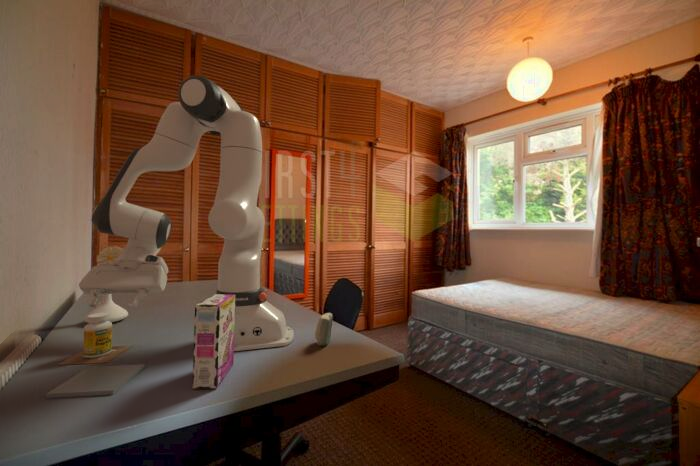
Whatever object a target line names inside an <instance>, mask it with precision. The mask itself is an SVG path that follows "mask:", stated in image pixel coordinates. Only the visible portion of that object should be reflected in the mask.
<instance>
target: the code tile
mask: <svg viewBox="0 0 700 466" xmlns="http://www.w3.org/2000/svg"><path fill="white" fill-rule="evenodd" d="M130 348H133V345H117V346H116V345H112V351H111V352H110V353H109V354H107V355H105V356H101V357H97V358H86V357H84V350H82V351H80V352H79V353H76V354H75V355H73V356H71V357H69V358H67V359H65V360H63V361H62V362H59V363H58V366H65V365H87V364H89V365H91V364H93V365H95V364H108V363H109V362H111V361H113V360H114V359H116V358H117V357H119V356H120V355H122V354H123V353H125V352H126V351H127V350H128V351H129V350H130Z"/></svg>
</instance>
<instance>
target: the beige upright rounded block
mask: <svg viewBox="0 0 700 466" xmlns="http://www.w3.org/2000/svg"><path fill="white" fill-rule="evenodd" d="M333 317H334V316H333V313H331V312H326V313H324V314H322V315H321V316H320V317H319V319H318V322H317V324H316V328H315V332H314V337H315V340H316V345H317V346H318V347H321V348H326V347H327V346H328V345H329V343H330V342H331V337H332V327H333Z"/></svg>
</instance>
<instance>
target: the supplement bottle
mask: <svg viewBox="0 0 700 466" xmlns="http://www.w3.org/2000/svg"><path fill="white" fill-rule="evenodd" d="M108 319H109V313H96V314H91V315H89V316H88V317H87V321H88V323H87V324H85V325H84V327H83V351H84V357H86V358H97V357H101V356H105V355H107V354H109V353H110V352H111V351H112V346H113V322H110V321H107V320H108Z"/></svg>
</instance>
